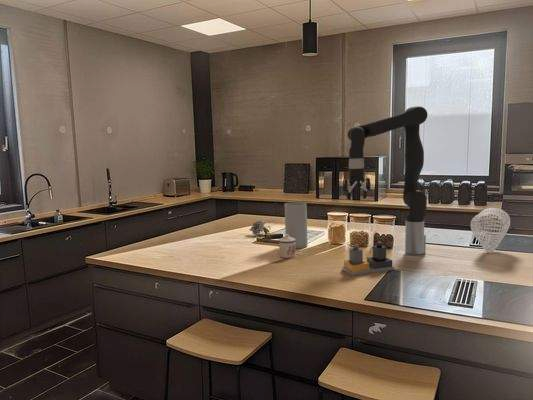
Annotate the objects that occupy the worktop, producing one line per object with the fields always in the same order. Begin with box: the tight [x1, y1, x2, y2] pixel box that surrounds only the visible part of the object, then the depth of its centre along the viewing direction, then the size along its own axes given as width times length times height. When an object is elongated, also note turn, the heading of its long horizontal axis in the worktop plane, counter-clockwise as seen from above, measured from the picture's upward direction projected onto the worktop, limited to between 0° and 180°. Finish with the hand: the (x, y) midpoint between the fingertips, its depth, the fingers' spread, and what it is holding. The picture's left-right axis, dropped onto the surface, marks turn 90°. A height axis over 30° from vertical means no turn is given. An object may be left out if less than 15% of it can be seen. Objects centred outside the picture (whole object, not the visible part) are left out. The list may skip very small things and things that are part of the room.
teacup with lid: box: [278, 233, 297, 259], centre depth 225 cm, size 12×9×12 cm
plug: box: [348, 243, 364, 265], centre depth 194 cm, size 4×4×11 cm
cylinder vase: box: [284, 201, 309, 250], centre depth 242 cm, size 12×12×25 cm
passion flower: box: [248, 219, 271, 237], centre depth 276 cm, size 11×11×12 cm
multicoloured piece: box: [341, 241, 395, 276], centre depth 195 cm, size 22×9×12 cm, turn 105°
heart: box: [470, 207, 511, 254], centre depth 213 cm, size 28×16×22 cm, turn 142°
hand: (356, 199), depth 215 cm, fingers open, 8 cm apart
